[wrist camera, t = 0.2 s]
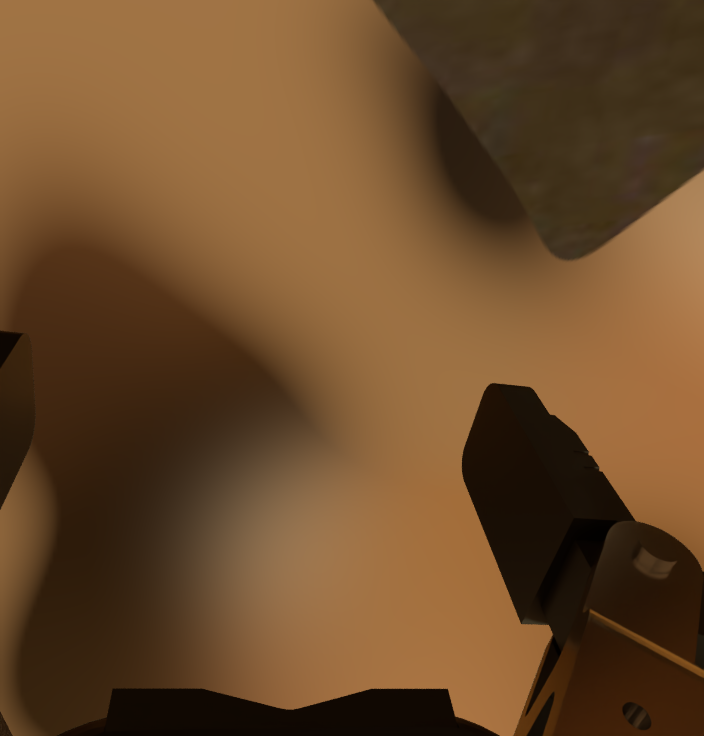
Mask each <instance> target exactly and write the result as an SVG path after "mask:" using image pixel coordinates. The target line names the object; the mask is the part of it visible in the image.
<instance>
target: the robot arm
mask: <svg viewBox="0 0 704 736" xmlns="http://www.w3.org/2000/svg"><path fill="white" fill-rule="evenodd" d="M34 427H35V396H34V380H33V363H32V348H31V341H30V338H29V336H28V334H26V333H18V332H9V331H0V509H1V507H2V505H3V503H4V501H5V499H6V497H7V494H8V492H9V490H10V488H11V486H12V484H13V482H14V480H15V477H16V475H17V473H18V471H19V469H20V467H21V465H22V462H23V460H24V458H25V456H26V454H27V452H28V450H29V448H30V445H31V441H32V438H33V433H34ZM588 453H589V451H588V450H587V449H586V447H585V446H584V444H583V443H582V441H581V440H580V438H579V437H578V435H577V434H576V433H575V432H574V431H573V430H572V429H571V428H569V427H568V426H567V425H566V424H564V423H563V422H562V421H561V420H560V419H558V418H557V417H556V416H555V415H550V414H549V413H548V411H547V410H546V408H545V407H544V405H543V404H542V402H541V400H540V399H539V397H538V396H537V394H536V393H535V391H534V390H533V389H532V388H530V387H525V386H515V385H506V384H496V383H492V384H490V385H489V386H488V387H487V388H486V390H485V391H484V394H483V396H482V399H481V402H480V405H479V408H478V411H477V413H476V416H475V419H474V422H473V425H472V427H471V430H470V433H469V436H468V439H467V441H466V444H465V447H464V451H463V456H462V474H463V479H464V482H465V485H466V487H467V489H468V492H469V495H470V497H471V500H472V502H473V504H474V507H475V510H476V512H477V515H478V517H479V519H480V522H481V525H482V527H483V530H484V532H485V534H486V537H487V540H488V542H489V545H490V547H491V550H492V552H493V555H494V557H495V559H496V562H497V564H498V567H499V570H500V572H501V575H502V577H503V579H504V582H505V585H506V587H507V590H508V592H509V594H510V597H511V600H512V602H513V605H514V607H515V609H516V612H517V615H518V617H519V620H520V622H521V624H538V625H549V626H550V628H551V631H552V633H553V635H552V637H551V639H550V641H549V643H548V644H547V646H546V649H545V651H544V654H543V657H542V660H541V662H540V665H539V667H538V670H537V673H536V676H535V678H534V681H533V684H532V687H531V689H530V692H529V695H528V698H527V700H526V703H525V706H524V709H523V711H522V714H521V717H520V719H519V722H518V725H517V728H516V730H515V733H514V736H704V572H703V571H702V568H701V566H700V564H699V562H698V560H697V559H696V558H695V556H694V555H693V554H692V552H691V551H690V550H688V548H687V547H685V545H683V544H682V543H681V542H680V541H679V540H677V539H676V538H675V537H673V536H671V535H670V534H668V533H667V532H665V531H663V530H661V529H659V528H656V527H654V526H651V525H648V524H645V523H641V522H636V521H635V519H634V518H633V516H632V515H631V513H630V512H629V510H628V509H627V507H626V506H625V505H624V503H623V501H622V500H621V499H620V497H619V496H618V494H617V493H616V491H615V490H614V488H613V487H612V485H611V484H610V483H609V481H608V479H607V478H606V476H605V475H604V474H603V472H600V471H599V466H598V465H597V463H596V462H595V460H594V459H593V457H592V456H589V455H588ZM0 736H12V734H11V732H10V730H9V728H8V726H7V724H6V722H5V720H4V718H3V716H2V714H1V712H0ZM57 736H499V735H498V734H496V733H494V732H492V731H490V730H488V729H486V728H484V727H482V726H480V725H477V724H475V723H473V722H470V721H467V720H465V719H462V718H458V717H455V715H454V711H453V707H452V703H451V699H450V696H449V692H448V689H369V690H366V691H362V692H358V693H355V694H351V695H348V696H344V697H340V698H337V699H333V700H329V701H325V702H321V703H318V704H314V705H310V706H307V707H303V708H299V709H294V710H286V709H280V708H276V707H272V706H268V705H264V704H261V703H257V702H252V701H248V700H245V699H240V698H237V697H233V696H229V695H225V694H221V693H217V692H213V691H209V690H205V689H113V690H112V695H111V700H110V705H109V710H108V715H107V717H106V718H103V719H99V720H95V721H92V722H89V723H86V724H83V725H81V726H78V727H75V728H73V729H71V730H68V731H65V732H63V733H61V734H59V735H57Z"/></svg>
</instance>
